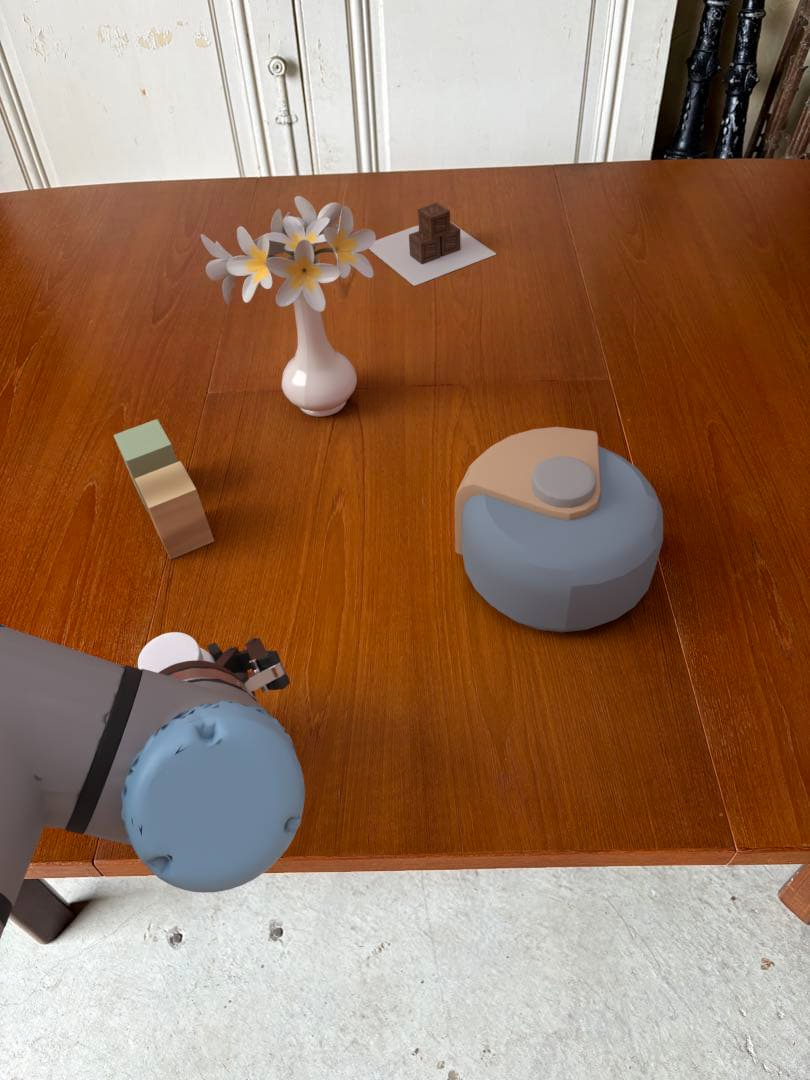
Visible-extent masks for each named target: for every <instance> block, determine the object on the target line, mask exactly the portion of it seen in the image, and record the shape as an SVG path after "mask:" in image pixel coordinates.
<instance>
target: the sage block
mask: <svg viewBox="0 0 810 1080" xmlns="http://www.w3.org/2000/svg"><path fill="white" fill-rule="evenodd" d="M113 438H114V440H115V442H116V445H117V447H118V449H119V452H120V454H121V457H122V459H123V461H124V464H125V467H126V468H127V471H128V473H129V476H130V478H131V481H132V482H133V485H134V488H135V489H136V491H137V494H138V496H139V497H140V500H141V502H142V504H143V507H144V508H145V510H146V512H147V514H149V512H148V510H147V507H146V505H145V503H144V500H143V498H142V495H141V493H140V491H139V488H138V486H137V484H136V481H135V478H137V477H140V476H143V475H145V474H148V473H150V472H153V471H155V470H158V469H161V468H163V467H166V466H168V465H171V464H174V463H176V462H179V461H178V459H177V456H176V454H175V450H174V448H173V447H174V446H173V444H172V443H171V441H170V440H169V437H168V436H167V434H166V432H165V430H164V428H163V427H162V424H161V423H160V421H159V419H158V418H156V419H152V420H150V421H148V422H144V423H142V424H139V425H136V426H134V427H131V428H128V429H126V430H123V431H120V432H118V433H115V434H113Z"/></svg>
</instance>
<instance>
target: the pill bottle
mask: <svg viewBox="0 0 810 1080" xmlns="http://www.w3.org/2000/svg"><path fill="white" fill-rule="evenodd" d="M193 660H200V661H208V662H212V663H216V662H215V660H214V658H213V657H212V656H211V655H210V653H209V651H207V650H206V649H204V648H201V647H200V646H199V644H198V643H197V641H196V639H194V638H193V637H192V636H191V635H189V634H188V633H187V634H186V633H184V632H178V631H173V632H165V633H162V634H160V635H158V636H156V637H154V638H153V639H151V640H150V641H148V643H146V644H145V645H144V647H142V649H141V651H140V652H139V655H138V659H137V668H138V669H141V670H142V669H146V670H149V671H153V672H157V673H158V672H160V671H161V670H163V669H165V668H167V667H169V666H171V665H174V664H177V663H180V662H184V661H193Z"/></svg>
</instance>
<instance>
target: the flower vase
mask: <svg viewBox="0 0 810 1080" xmlns="http://www.w3.org/2000/svg"><path fill="white" fill-rule="evenodd" d="M293 202H294V205H295V207H296V209H297V211H298V213H299V214H300V216H301V217H298V216H292V215H291V211H288V212H287V213H286V214H285V216H284V217H283V215H282V210H281V208H277V209H276V210H275V212H274V213H273V216H272V218H271V223H270V232H267V233H265V234H263V235H261V236H259V237H257V238H256V239H255V240H253V238H252V237H251V235H250V234H249V232H248V231H247V229H246V228H244V227H243V226H238V227H237V229H236V238H237V243H238V245H239V247H240V249H241V251H242V252H243V253H244V254H245V255H235V256H233V255H232V254H231V253H230V252H229V251H227V250H226V249H225V248H224V247H223V245H221V243H220V242H219V241H218V240H215V242H213V241H212V240H211V239H210V238H209V237H207V236H206V235H205V234H204V233H201V234H200V238H201V241H202V243H203V245H204V247H205V249H206V250H207V251H208V253H209V254H210V255H211V256H213V257H214V258H216V259H213V260H210V261H208V262H207V264H206V265H205V273H206V276H207V278H208V279H209V280H211V281H214V282H216V281H217V282H218V281H220V280H222V279H223V281H222V287H221V288H222V294H223V298H224V299H223V300H224V301H225V304H226V305H229V304H230V302H231V296H232V291H233V289H234V288H235V280H236V277H246V276H247V277H246V278H245V280H244V281H243V284H242V290H241V291H242V292H241V295H242V300H243V302H244V303H246V304H247V303H249V302H251V301H252V299H253V297H254V295H255V293H256V291H257V289H258V287H259V285H261V287H262V288H264V289H266V290H270V289H272V286H273V276H272V274H273V275H274V276H277V277H279V278H282V279H284V282H282V284H281V285H280V286H279V289H278V290H277V293H276V295H275V303H276V305H277V306H278V307H280V308H285V307H288V306H290V305H291V304H293V310H294V316H295V325H296V331H297V332H296V333H297V345H296V351H295V354H294V355H293V357H292V358H291V359H289V361H288V362H287V364H286V365H285V367H284V370H283V372H282V375H281V390H282V393H283V395H284V396H285V397H286V398H287V400H288V401H289V402H290V403H292V405H294V406H296V407H298V408H299V409H300V410H301V411H302V412H303V413H304V414H306V415H308V416H312V417H319V418H322V417H329V416H333V415H334V414H336V413H339V412H340V411H341V410H342V409H343V408H344V406H346V404H347V401H348V400H349V398H350V397H351V396H352V395H353V394H354V392H355V390H356V387H357V384H358V379H357V378H358V375H357V371H356V369H355V367H354V365H353V364H352V361H351V360H349V358H347V357H346V356H345V355H344V354H343V353H342V352H340V351H338V350H336V349H335V348H334V347H333V345H332V344H331V342H330V341H329V339H328V336H327V333H326V328H325V324H324V320H323V315H322V312H324V311H325V309H326V307H327V305H326V304H327V303H326V297H325V293H324V291H323V289H322V288H321V285H320V284H329V283H332V282H334V281H336V280H337V279H339V278H342V279H346V278H348V277H349V276H350V273H351V270H352V269H351V267H352V268H354V269H355V270H356V271H357V272H358V273H359V274H360V275H362V276H364V277H366V278H368V279H372V278H373V277H374V274H375V273H374V269H373V267H372V264H371V262H370V261H369V260H368V258H367V257H365V256H364V255H363V254H362V252H364V251H366V250H369V249H368V248H370V247H371V246H372V245H373V244H374V242H375V240H377V236H376V233H375V231H374V230H372V229H369V228H363V229H359V230H357V231H354V223H355V222H354V216H353V212H352V211H351V208H350V207H349V206H347V205H344V206H343V207H342V205H341V204H340V203H339V202H330V203H328V204H325V206H323V207H322V208H321V209H320V211H319V212H318V215H317V211H316V209H315V207H314V206H313V204H312V203H311V202H310V201H309V200H308V199H306V198H305V197H303V196H300V195H298V196H295V197H294V201H293ZM338 219H339V222H338V224H335V223H336V222H337V221H338ZM322 244H323V245H325V244H328V245H329V246H330V247H323V248H319V249H317V250H316V247H317V246H319V245H322ZM283 253H285V254H287V255H289V257H287V258H285V257H281V256H277V255H280V254H283ZM322 253H332V254H333V253H334V255H335V259H336V265H335V264H331V263H321V261H320V260H319V258H317V257H316V256H317V255H319V254H322Z"/></svg>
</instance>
